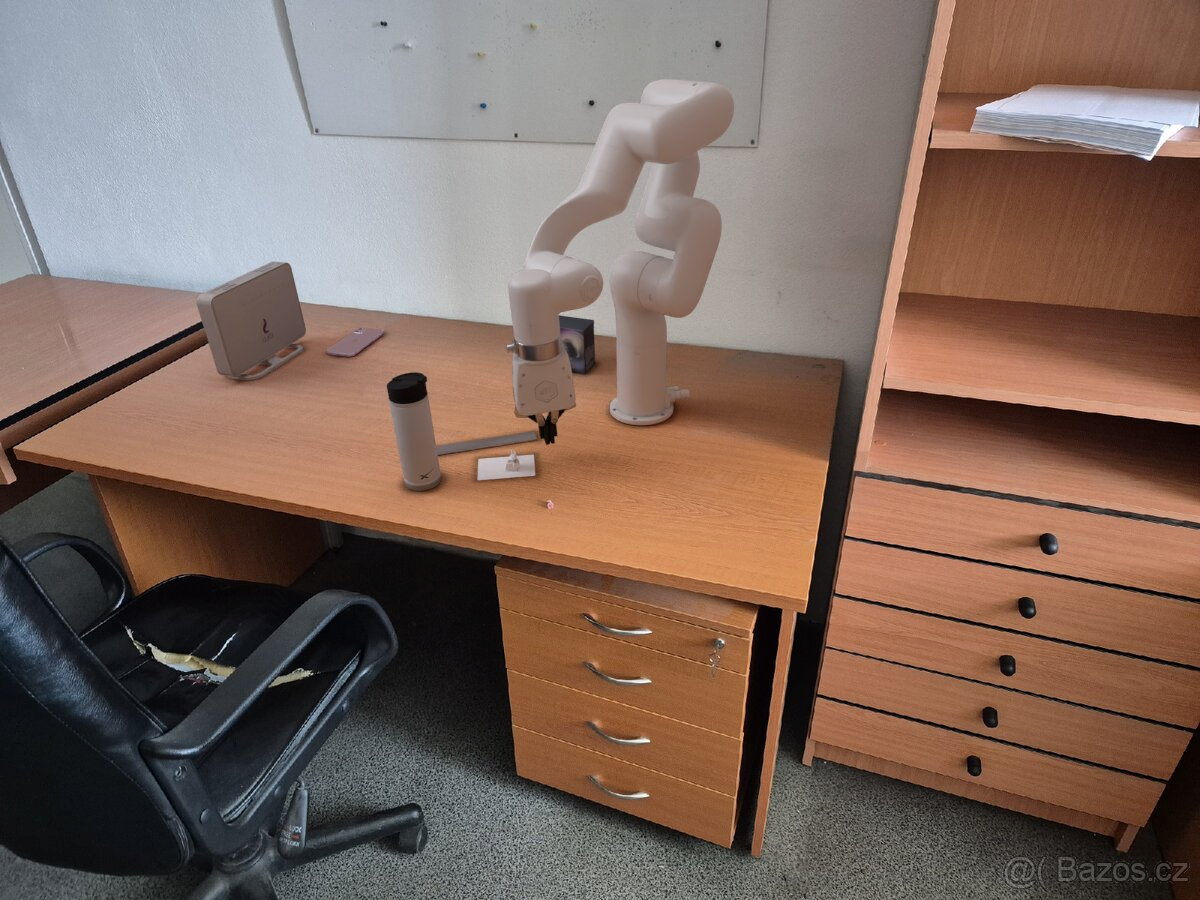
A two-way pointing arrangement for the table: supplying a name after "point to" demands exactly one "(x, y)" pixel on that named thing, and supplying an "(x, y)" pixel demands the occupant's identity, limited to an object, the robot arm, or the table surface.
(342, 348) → the mobile phone
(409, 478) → the travel mug
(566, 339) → the small box
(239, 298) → the network device
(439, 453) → the steel ruler
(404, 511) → the table surface
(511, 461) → the adhesive hook
